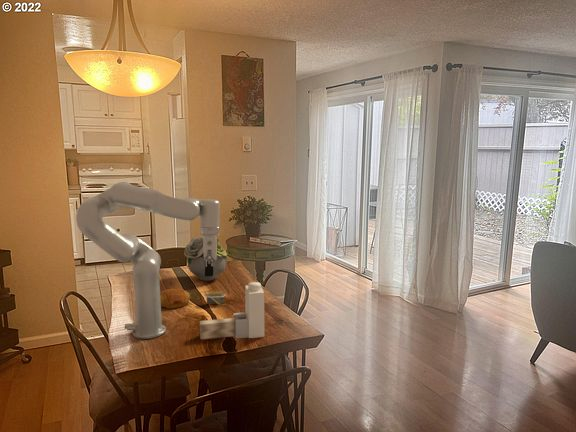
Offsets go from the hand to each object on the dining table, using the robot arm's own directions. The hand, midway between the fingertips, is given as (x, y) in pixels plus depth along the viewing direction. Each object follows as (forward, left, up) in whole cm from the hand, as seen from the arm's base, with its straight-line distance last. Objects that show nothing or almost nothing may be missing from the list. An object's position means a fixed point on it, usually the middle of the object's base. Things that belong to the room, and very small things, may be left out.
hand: (209, 272), depth 168 cm
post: (+15, -8, -23) cm, 29 cm away
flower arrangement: (+2, +67, -24) cm, 71 cm away
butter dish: (+4, +26, -24) cm, 36 cm away
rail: (+5, -8, -23) cm, 25 cm away
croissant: (-15, +31, -24) cm, 42 cm away
